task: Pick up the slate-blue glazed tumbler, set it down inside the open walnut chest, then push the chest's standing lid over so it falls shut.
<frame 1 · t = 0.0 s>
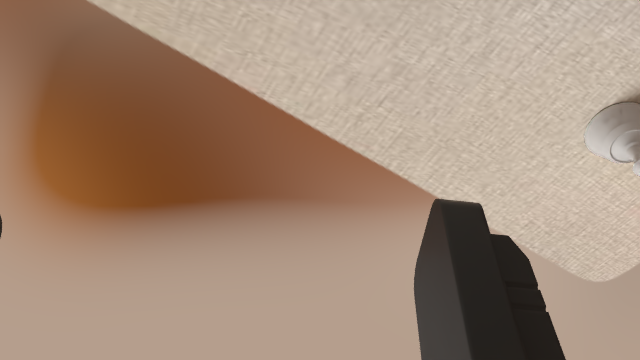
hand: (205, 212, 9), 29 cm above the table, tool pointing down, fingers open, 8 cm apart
chalice: (617, 129, 41), on the table
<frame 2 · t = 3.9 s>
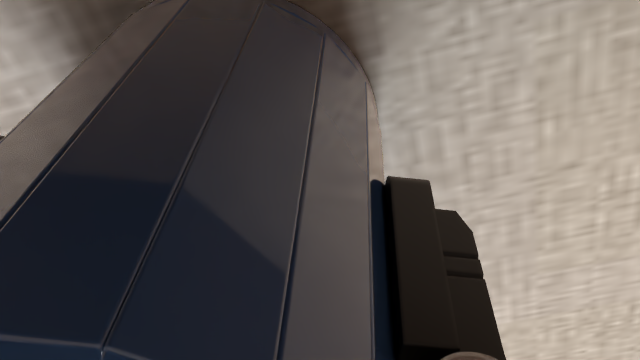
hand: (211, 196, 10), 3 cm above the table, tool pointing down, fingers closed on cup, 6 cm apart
cup: (237, 128, 12), on the table, touching gripper
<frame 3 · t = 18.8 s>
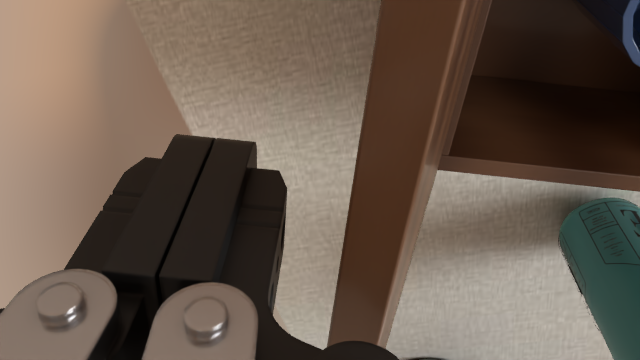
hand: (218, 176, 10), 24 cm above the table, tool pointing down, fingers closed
lid: (441, 88, 14), point 19 cm above the table, hinge at 105.7°, touching gripper
beverage bottle: (592, 213, 41), on the table
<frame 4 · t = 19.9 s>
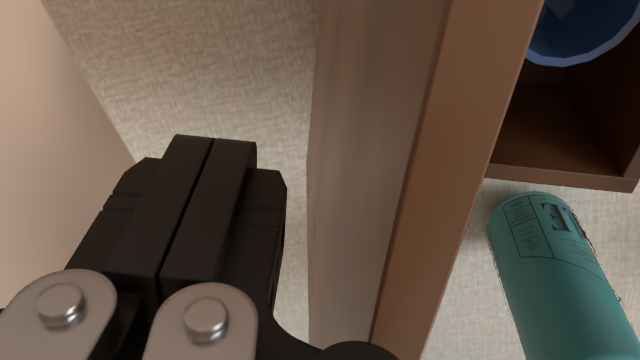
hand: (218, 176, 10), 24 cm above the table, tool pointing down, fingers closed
lid: (347, 87, 14), point 20 cm above the table, hinge at 84.8°, touching gripper
beverage bottle: (522, 207, 41), on the table
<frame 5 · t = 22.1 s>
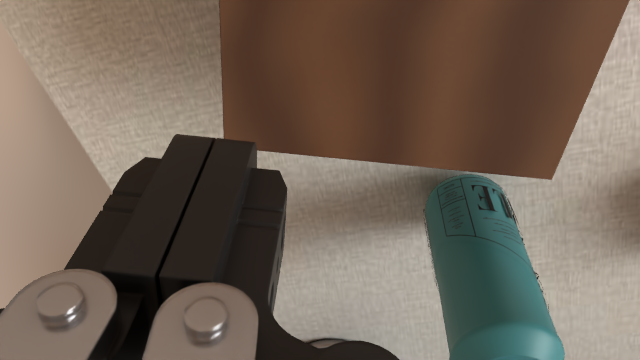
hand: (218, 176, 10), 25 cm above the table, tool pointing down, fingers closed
beverage bottle: (461, 191, 42), on the table
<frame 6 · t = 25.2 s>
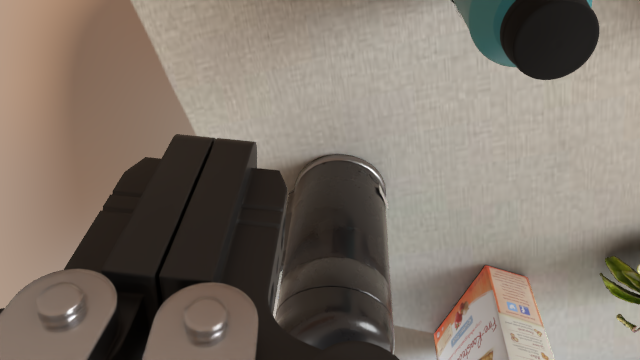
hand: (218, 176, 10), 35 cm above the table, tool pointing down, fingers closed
cracker box: (475, 304, 64), on the table
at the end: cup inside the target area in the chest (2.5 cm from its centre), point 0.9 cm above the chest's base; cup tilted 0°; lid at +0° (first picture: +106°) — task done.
